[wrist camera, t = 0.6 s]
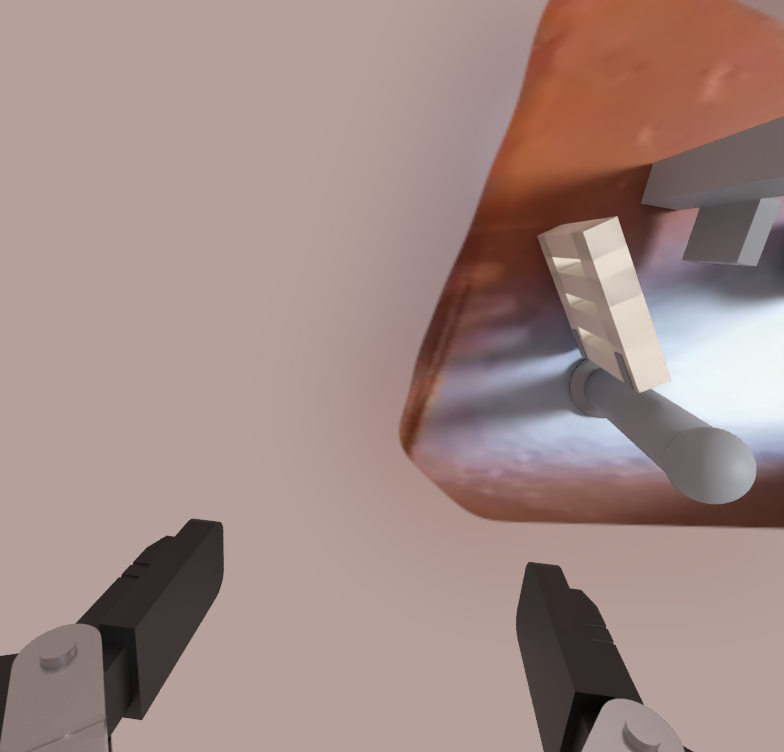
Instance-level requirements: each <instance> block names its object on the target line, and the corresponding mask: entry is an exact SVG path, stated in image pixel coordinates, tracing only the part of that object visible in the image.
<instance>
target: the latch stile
mask: <svg viewBox="0 0 784 752" xmlns="http://www.w3.org/2000/svg"><path fill="white" fill-rule="evenodd" d="M778 196H784V117H781V118H778V119H775V120H772V121H770V122H767V123H764V124H761V125H758V126H756V127H753V128H750V129H747V130H744V131H742V132H739V133H736V134H733V135H730V136H727V137H725V138H722V139H719V140H716V141H713V142H711V143H708V144H705V145H702V146H699V147H697V148H694V149H691V150H688V151H685V152H683V153H680V154H677V155H674V156H671V157H669V158H666V159H663V160H660V161H657V162H655V163H653V165H652V168H651V172H650V175H649V178H648V181H647V185H646V188H645V191H644V194H643V198H642V201H641V204H645V205H651V206H656V207H662V208H667V209H673V210H684V209H692V208H699V207H700V209H699V212H698V215H697V218H696V221H695V224H694V227H693V230H692V233H691V235H690V238H689V241H688V244H687V247H686V250H685V253H684V256H683V259H682V260H685V261H691V262H696V263H709V264H726V265H742V266H757V264H758V261H759V258H760V256H761V253H762V251H763V248H764V246H765V243H766V241H767V238H768V235H769V233H770V230H771V228H772V225H773V223H774V220H775V217H776V215H777V212H778V210H779V207H780V205H781V202H782V199H777V198H771V197H778Z"/></svg>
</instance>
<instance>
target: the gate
mask: <svg viewBox="0 0 784 752" xmlns="http://www.w3.org/2000/svg"><path fill="white" fill-rule="evenodd" d="M537 238H538V240H539V243H540V246H541V248H542V251H543V254H544V257H545V259H546V262H547V265H548V267H549V270H550V273H551V275H552V278H553V281H554V283H555V286H556V289H557V291H558V294H559V297H560V299H561V302H562V305H563V307H564V310H565V313H566V315H567V318H568V321H569V323H570V326H571V329H572V331H573V334H574V337H575V339H576V342H577V345H578V347H579V350H580V353H581V355H582V357H584V358H585V359H589V360H591V361H592V362H594V363H595V364H597V365H598V366H600V367H601V368H603V369H604V370H606V371H607V372H609V373H610V374H612V375H613V376H615V377H616V378H618V379H619V380H620V381H622V382H623V383H625V385H626V387H628V388H629V389H631V390H632V391H633V390H635V391H637V392H638V393H641V392H643V391H646V390H648V389H651V388H653V387H656V386H658V385H661V384H664V383H666V382H669V381H671V378H670V375H669V372H668V369H667V366H666V363H665V360H664V357H663V354H662V351H661V347H660V344H659V341H658V338H657V335H656V332H655V329H654V326H653V323H652V320H651V317H650V314H649V311H648V308H647V305H646V302H645V299H644V296H643V293H642V290H641V287H640V284H639V281H638V277H637V274H636V271H635V268H634V265H633V262H632V259H631V256H630V253H629V250H628V247H627V244H626V241H625V238H624V235H623V232H622V229H621V226H620V223H619V220H618V217H617V216H615V217H609V218H602V219H595V220H589V221H582V222H576V223H569V224H563V225H559V226H557V227H555V228H553V229H551V230H549V231H546V232H544V233H542V234H540V235H538V236H537Z"/></svg>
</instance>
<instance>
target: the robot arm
mask: <svg viewBox="0 0 784 752" xmlns="http://www.w3.org/2000/svg"><path fill="white" fill-rule="evenodd" d="M223 571H224V556H223V525H222V523H221V522H216V521H208V520H200V519H191V520H189V521H188V522H187V523H186V525H185V526H184V527H183V528H182V529H181V530H180V531H179V533H178V534H177V535H176V536H175V537H172V536H165V537H164V538H162V539H160V540H159V541H157V542H156V543H154V544H152V545H150V546H149V547H147V548H146V549H145V550H144V551H143V552H142V553H141V554H140V556H139V557H138V558H137V559H136V560H135V561H134V562H133V565H130V566H129V567H128V568H127V569H126V570H125V571H124V573H123V574H122V576H121V578H118V579H117V580H116V581H115V582H114V583H113V584H112V585H111V586H110V587H109V589H108V590H107V591H106V592H105V593H104V594H103V595H102V596H101V597H100V598H99V599H98V600H97V601H96V602H95V603H94V604H93V606H92V607H91V608H90V609H89V610H88V611H87V612H86V613H85V614H84V615H83V616H82V617H81V618H80V619H79V621H78V622H77V623H76V624H70V625H65V626H61V627H58V628H55V629H53V630H50V631H48V632H46V633H44V634H42V635H40V636H39V637H37V638H36V639H34V640H33V641H31V642H30V643H29V644H28V645H26V646H25V647H24V648H23V649H22V650H21V651H20V653H18V654H11V655H4V656H0V752H113V748H112V737H111V734H112V733H113V731H114V729H115V728H116V726H117V725H118V723H119V722H120V720H121V719H122V717H124V718H131V719H138V720H142V719H143V717H144V716H145V714H146V712H147V711H148V709H149V708H150V706H151V704H152V702H153V701H154V699H155V698H156V696H157V694H158V693H159V691H160V689H161V688H162V686H163V685H164V683H165V681H166V680H167V678H168V676H169V674H170V673H171V671H172V670H173V668H174V666H175V665H176V663H177V661H178V660H179V658H180V656H181V655H182V653H183V651H184V650H185V648H186V646H187V645H188V643H189V642H190V640H191V638H192V637H193V635H194V633H195V632H196V630H197V628H198V627H199V625H200V623H201V622H202V620H203V618H204V617H205V615H206V613H207V611H208V610H209V608H210V607H211V605H212V604H213V602H214V600H215V598H216V597H217V595H218V593H219V590H220V587H221V584H222V579H223V573H224V572H223ZM516 631H517V637H518V642H519V647H520V651H521V655H522V660H523V664H524V668H525V673H526V677H527V681H528V686H529V690H530V694H531V698H532V703H533V707H534V711H535V716H536V720H537V724H538V728H539V732H540V737H541V741H542V746H543V750H544V752H693V751H691V750H689V749H687V748H686V747H684V746H683V745H682V743H681V741H680V739H679V738H678V736H677V734H676V733H675V732H674V730H673V729H672V728H671V727H670V725H669V724H668V723H667V722H666V721H665V720H664V719H663V718H662V717H660V716H659V715H658V714H657V713H655V712H654V711H652V710H651V709H649V708H648V707H646V706H644V704H643V702H642V700H641V698H640V696H639V694H638V692H637V690H636V688H635V685H634V683H633V681H632V679H631V677H630V675H629V673H628V671H627V669H626V666H625V665H624V662H623V660H622V658H621V656H620V654H619V652H618V650H617V648H616V645H614V644H613V639H612V637H611V635H610V633H609V631H608V629H606V625H605V623H604V620H603V618H602V616H601V614H600V612H599V610H598V608H597V606H596V605H595V604H594V603H593V602H592V601H591V600H590V599H589V598H588V597H587V596H586V595H585V594H584V593H583V591H582V590H577V589H570V588H569V586H568V584H567V581H566V579H565V576H564V574H563V572H562V569H561V568H560V567H559V566H557V565H549V564H542V563H534V562H529V563H528V564H527V566H526V569H525V574H524V579H523V584H522V589H521V594H520V599H519V604H518V608H517V616H516Z"/></svg>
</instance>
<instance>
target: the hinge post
mask: <svg viewBox="0 0 784 752" xmlns="http://www.w3.org/2000/svg"><path fill="white" fill-rule="evenodd" d="M569 390H570V395H571V398H572V400H573V402H574V403H575V405H576V406H577V407H578V408H579V409H580V410H581V411H582V412H584V413H585V414H587V415H589V416H592V417H596V418H607V419H608V420H609V421H610V422H611V423H612V424H614V425H615V426H616V427H617V428H618V429H619V430H620V431H621V432H622V433H623V434H624V435H625V436H626V437H628V438H629V439H630V440H631V441H632V442H633V443H634V444H635V445H636V446H637V447H638V448H639V449H641V450H642V451H643V452H644V453H645V454H646V455H647V456H648V457H649V458H650V459H651V460H652V461H654V462H655V463H656V464H657V465H658V466H659V467H660V468H661V469H662V470H663V471H664V472H665V473H666V474H667V476H668V478H669V480H670V482H671V483H672V484H673V486H674V487H675V488H676V489H677V490H678V491H680V492H681V493H682V494H684V495H685V496H687V497H689V498H691V499H693V500H695V501H698V502H702V503H707V504H724V503H729V502H732V501H734V500H737V499H739V498H740V497H742V496H743V495H745V494H746V493H747V492H748V491H749V490H750V488H751V487H752V485H753V483H754V481H755V478H756V462H755V459H754V456H753V454H752V452H751V450H750V449H749V447H748V446H747V445H746V444H745V443H744V442H743V441H742V440H741V439H739V438H738V437H737V436H735V435H734V434H732V433H730V432H728V431H725V430H722V429H718V428H713V427H712V426H710V425H709V424H707V423H705V422H704V421H702V420H700V419H699V418H697V417H696V416H694V415H692V414H691V413H689V412H688V411H686V410H684V409H683V408H681V407H680V406H678V405H676V404H675V403H673V402H671V401H670V400H668V399H667V398H665V397H663V396H662V395H660V394H659V393H657V392H655V391H654V390H652V389H648V390H646V391H643V392H641V393H638V392H637V391H635V390H633V391H632V390H631V389H629V388H628V387H626V385H625V383H623V382H622V381H620V380H619V379H618V378H616V377H615V376H613V375H612V374H610V373H609V372H607V371H606V370H604V369H603V368H601V367H600V366H598V365H597V364H595V363H594V362H592V361H591V360H589V359H585V360H584V361H583V362H581V363H580V364H579V365H578V366H577V368H576V369H575V370H574V372H573V374H572V376H571V379H570V385H569Z"/></svg>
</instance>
